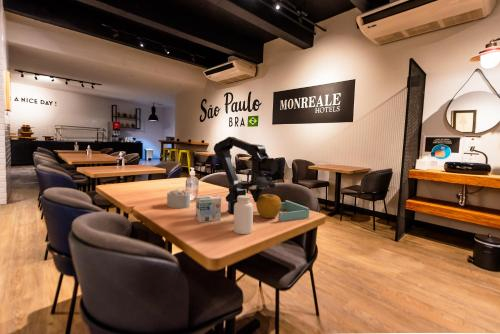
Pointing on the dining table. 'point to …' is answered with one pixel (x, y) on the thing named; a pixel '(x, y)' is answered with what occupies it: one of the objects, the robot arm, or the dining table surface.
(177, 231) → the dining table surface
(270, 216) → the apple
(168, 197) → the lumpy-topped squat cylinder
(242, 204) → the pill bottle
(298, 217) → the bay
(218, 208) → the light bulb box
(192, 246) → the dining table surface
